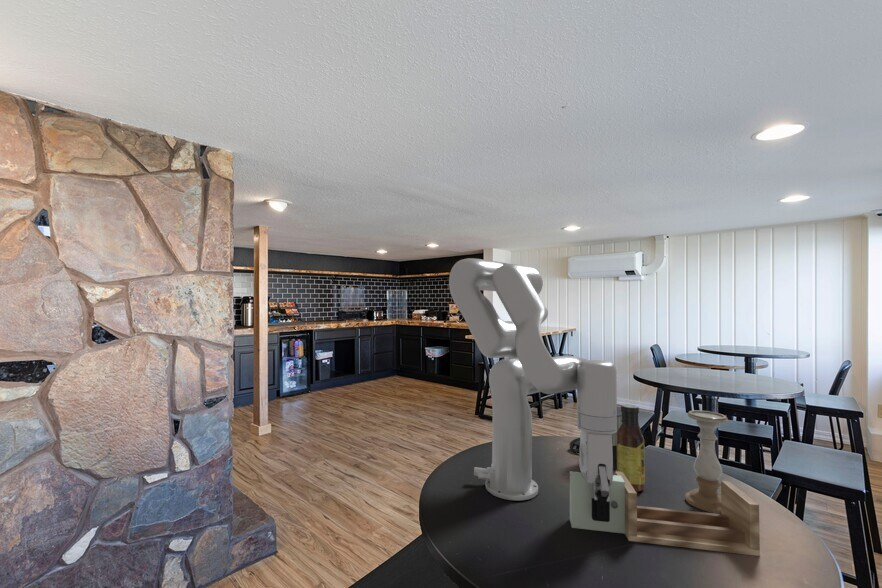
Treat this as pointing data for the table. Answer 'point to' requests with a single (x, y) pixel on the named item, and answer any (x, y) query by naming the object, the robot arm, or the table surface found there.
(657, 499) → the table surface
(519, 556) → the table surface
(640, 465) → the sauce bottle
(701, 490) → the candle holder
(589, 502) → the rectangular block
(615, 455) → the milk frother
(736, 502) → the track
